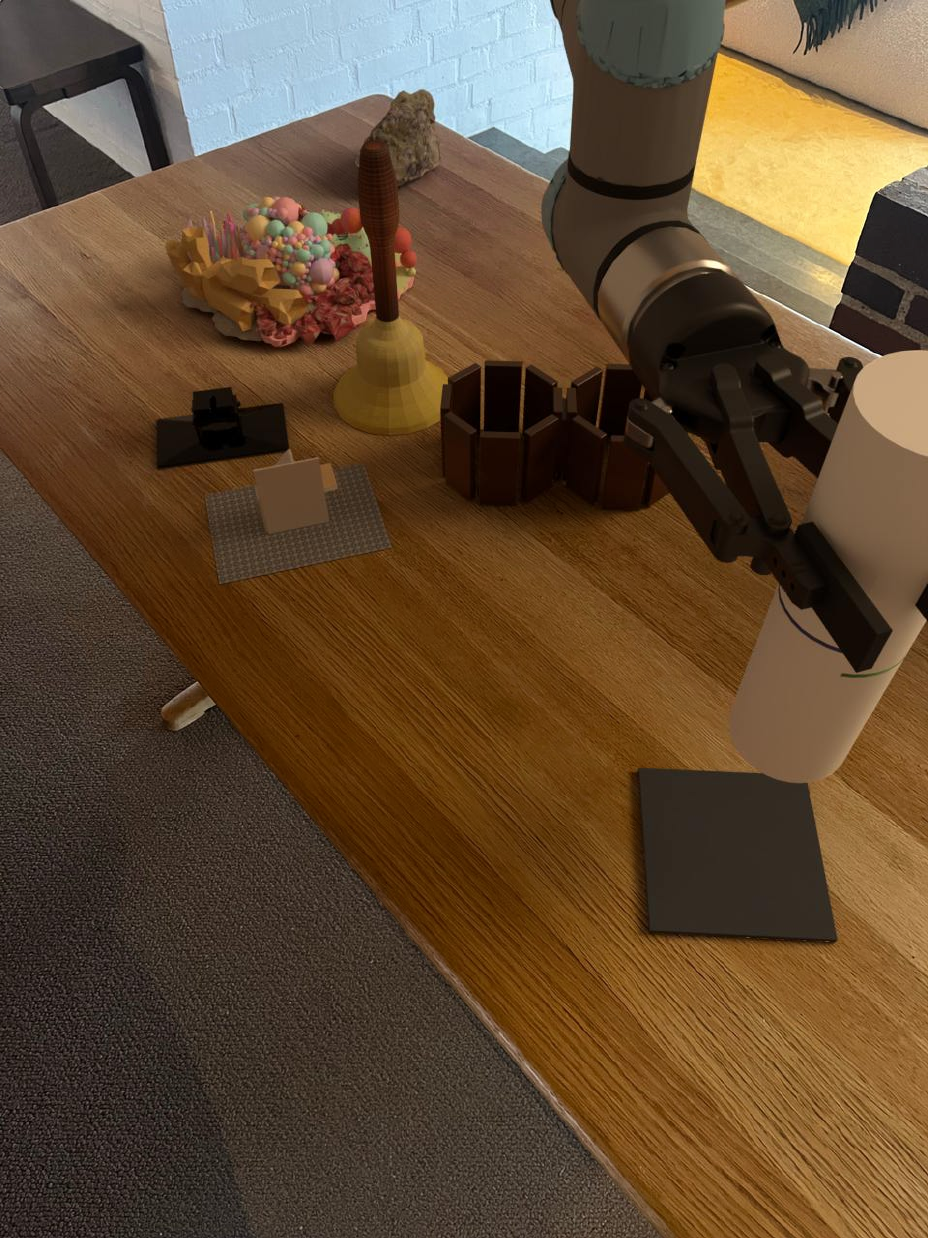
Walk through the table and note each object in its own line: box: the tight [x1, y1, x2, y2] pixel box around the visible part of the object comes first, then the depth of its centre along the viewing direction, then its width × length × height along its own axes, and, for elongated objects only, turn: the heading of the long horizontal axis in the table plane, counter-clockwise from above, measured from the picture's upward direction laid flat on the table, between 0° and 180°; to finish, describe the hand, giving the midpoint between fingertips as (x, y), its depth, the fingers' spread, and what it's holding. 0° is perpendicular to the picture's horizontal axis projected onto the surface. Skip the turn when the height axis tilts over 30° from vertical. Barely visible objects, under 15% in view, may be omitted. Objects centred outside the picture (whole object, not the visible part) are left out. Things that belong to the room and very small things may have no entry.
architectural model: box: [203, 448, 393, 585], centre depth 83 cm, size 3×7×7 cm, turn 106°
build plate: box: [156, 386, 290, 470], centre depth 91 cm, size 12×7×5 cm, turn 101°
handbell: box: [332, 140, 449, 437], centre depth 87 cm, size 12×12×25 cm
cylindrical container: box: [727, 349, 928, 784], centre depth 49 cm, size 7×7×25 cm
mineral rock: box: [355, 88, 442, 187], centre depth 121 cm, size 13×11×10 cm
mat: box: [637, 767, 839, 943], centre depth 65 cm, size 12×12×1 cm
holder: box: [440, 359, 689, 511], centre depth 87 cm, size 22×11×8 cm, turn 87°
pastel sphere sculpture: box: [164, 195, 418, 349], centre depth 105 cm, size 25×24×9 cm
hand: (920, 638), depth 41 cm, fingers open, 4 cm apart
